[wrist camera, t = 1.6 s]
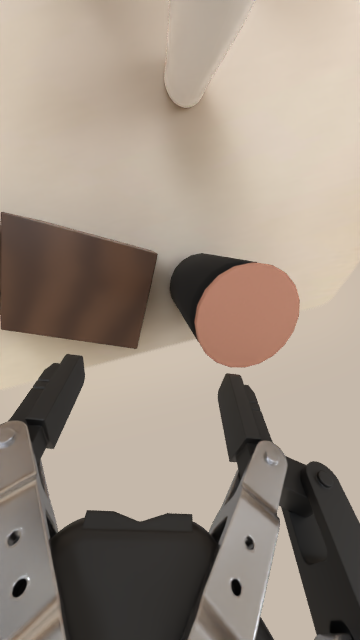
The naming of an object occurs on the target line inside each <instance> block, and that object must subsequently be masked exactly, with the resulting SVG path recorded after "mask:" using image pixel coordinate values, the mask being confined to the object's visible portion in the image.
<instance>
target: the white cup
mask: <svg viewBox="0 0 360 640" xmlns="http://www.w3.org/2000/svg"><path fill="white" fill-rule="evenodd" d="M254 2H255V0H169V12H168V32H167V50H166V63H165V70H164V81H165V87H166V90H167V92H168V95H169V96H170V98H171V99H172V101H173V102H174V103H175V104H177V105H178V106H180V107H184V108H188V107H192V106H194V105H195V104H197V103H198V102H199V101H200V99H201V98H202V96H203V94H204V92H205V89H206V87H207V85H208V84H209V82H210V80H211V79H212V77H213V75H214V74H215V72H216V70H217V69H218V67H219V65H220V63H221V62H222V60H223V58H224V57H225V55H226V54H227V52H228V50H229V49H230V47H231V45H232V44H233V42H234V40H235V38H236V37H237V35H238V33H239V32H240V30H241V28H242V26H243V24H244V22H245V20H246V19H247V17H248V15H249V13H250V10H251V8H252V6H253V4H254Z"/></svg>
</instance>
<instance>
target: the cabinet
mask: <svg viewBox="0 0 360 640" xmlns="http://www.w3.org/2000/svg"><path fill="white" fill-rule="evenodd" d="M157 255H158V254H157V253H155V252H153V251H151V250H148V249H144V248H140V247H136V246H133V245H129V244H125V243H122V242H118V241H114V240H111V239H107V238H103V237H100V236H96V235H92V234H89V233H85V232H81V231H77V230H74V229H70V228H66V227H63V226H59V225H55V224H52V223H48V222H44V221H40V220H36V219H31V218H27V217H22V216H18V215H13V214H9V213H5V212H1V329H2V330H9V331H16V332H23V333H30V334H37V335H44V336H51V337H58V338H65V339H72V340H78V341H85V342H92V343H99V344H106V345H113V346H120V347H127V348H134V349H137V346H138V341H139V337H140V332H141V328H142V323H143V319H144V314H145V310H146V305H147V301H148V296H149V291H150V287H151V282H152V278H153V273H154V269H155V264H156V260H157Z"/></svg>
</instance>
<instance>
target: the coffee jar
mask: <svg viewBox="0 0 360 640" xmlns="http://www.w3.org/2000/svg"><path fill="white" fill-rule="evenodd" d="M170 291H171V296H172V299H173V301H174V303H175V304H176V306H177V308H178V309H179V311H180V313H181V314H182V316H183V318H184V319H185V321H186V322H187V324H188V326H189V327H190V329H191V331H192V332H193V334H194V336H195V337H196V339H197V341H198V342H199V343H200V345H201V346H202V348H203V350H204V352H205V353H206V354H207V355H208V356H209V357H210V358H212V359H213V360H214V361H215V362H217V363H220V364H222V365H225V366H228V367H248V366H252V365H255V364H259V363H261V362H263V361H265V360H266V359H268V358H270V357H272V356H273V355H274V354H275V353H276V352H278V350H280V348H282V347H283V346H284V345H285V344H286V342H287V340H288V339H289V337H290V336H291V334H292V333H293V331H294V328H295V326H296V323H297V319H298V317H299V302H300V300H299V296H298V293H297V289H296V286H295V284H294V283H293V282H292V280H291V279H290V278H289V276H288V275H287V274H286V273H285V272H283V271H282V270H280V269H278V268H276V267H275V266H273V265H269V264H261V263H257V262H252V261H246V260H240V259H234V258H228V257H222V256H216V255H210V254H203V253H201V254H196V255H191V256H190V257H188V258H186V259H184V260H183V261H182V262H181V263H180V264H179V265H178V266H177V267H176V268H175V271H174V273H173V275H172V277H171V283H170Z"/></svg>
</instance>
